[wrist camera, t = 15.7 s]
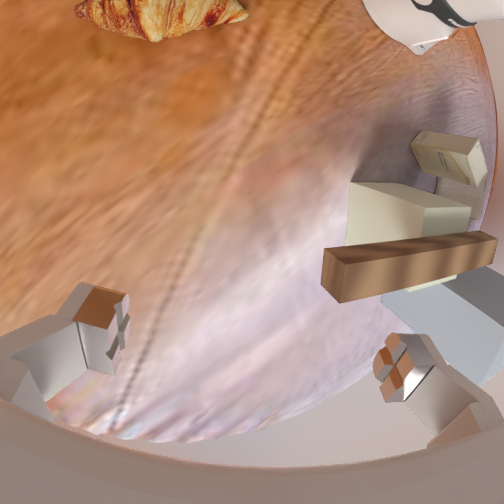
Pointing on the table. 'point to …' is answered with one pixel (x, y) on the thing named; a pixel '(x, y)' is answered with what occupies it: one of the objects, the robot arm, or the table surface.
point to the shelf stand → (459, 320)
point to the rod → (402, 263)
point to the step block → (401, 216)
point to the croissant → (159, 16)
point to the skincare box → (450, 157)
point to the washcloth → (463, 194)
